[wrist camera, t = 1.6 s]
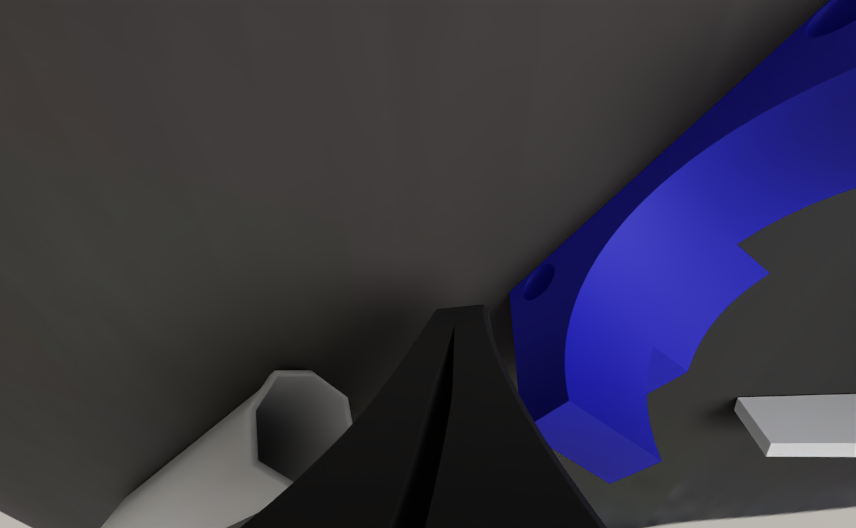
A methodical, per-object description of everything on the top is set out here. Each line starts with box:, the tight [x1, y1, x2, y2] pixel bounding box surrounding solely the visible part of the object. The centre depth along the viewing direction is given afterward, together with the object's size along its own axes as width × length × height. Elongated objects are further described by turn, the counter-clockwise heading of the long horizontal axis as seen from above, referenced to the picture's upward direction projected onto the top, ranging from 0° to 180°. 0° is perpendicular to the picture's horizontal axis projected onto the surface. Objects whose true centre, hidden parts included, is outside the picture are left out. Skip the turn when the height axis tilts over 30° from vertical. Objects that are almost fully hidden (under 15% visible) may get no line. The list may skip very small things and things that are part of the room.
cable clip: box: [509, 0, 856, 484], centre depth 9 cm, size 12×4×6 cm, turn 145°
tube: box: [101, 370, 353, 528], centre depth 22 cm, size 5×5×25 cm
